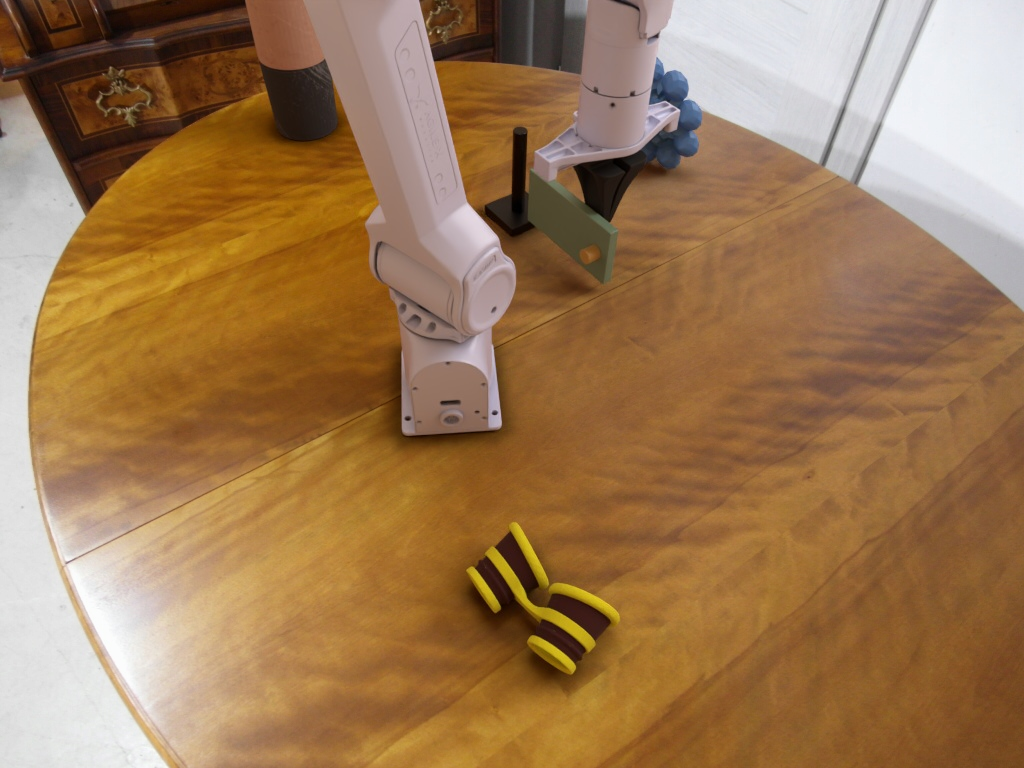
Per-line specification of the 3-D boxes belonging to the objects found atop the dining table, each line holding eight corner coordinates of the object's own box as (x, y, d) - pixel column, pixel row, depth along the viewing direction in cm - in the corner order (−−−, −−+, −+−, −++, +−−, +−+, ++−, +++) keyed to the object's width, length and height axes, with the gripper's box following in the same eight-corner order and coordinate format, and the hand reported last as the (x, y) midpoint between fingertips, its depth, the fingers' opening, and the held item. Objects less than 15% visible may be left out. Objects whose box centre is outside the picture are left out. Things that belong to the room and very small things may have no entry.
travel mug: (319, 101, 95) (286, -79, 80) (352, 127, 92) (324, -56, 77) (263, 121, 92) (218, -62, 77) (294, 149, 88) (254, -38, 73)
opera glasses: (466, 589, 54) (453, 565, 50) (518, 536, 56) (510, 508, 52) (568, 689, 50) (563, 672, 46) (622, 628, 51) (621, 606, 47)
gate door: (516, 224, 78) (517, 173, 74) (535, 216, 79) (537, 165, 75) (591, 291, 72) (598, 239, 67) (611, 281, 73) (619, 229, 68)
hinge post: (484, 212, 81) (483, 126, 74) (522, 196, 83) (525, 110, 76) (512, 237, 79) (514, 150, 71) (551, 220, 81) (557, 134, 73)
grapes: (581, 160, 88) (591, 58, 79) (612, 135, 92) (625, 34, 83) (672, 197, 84) (694, 93, 75) (701, 169, 87) (724, 66, 78)
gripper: (650, 37, 67) (629, 173, 77) (513, 84, 61) (510, 223, 71) (708, 71, 63) (678, 209, 73) (568, 123, 57) (557, 265, 68)
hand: (598, 218), depth 72 cm, fingers closed
